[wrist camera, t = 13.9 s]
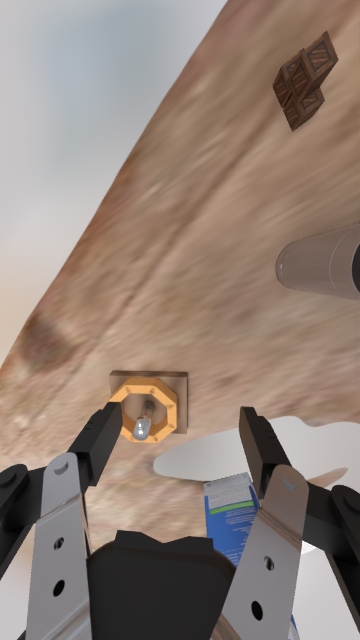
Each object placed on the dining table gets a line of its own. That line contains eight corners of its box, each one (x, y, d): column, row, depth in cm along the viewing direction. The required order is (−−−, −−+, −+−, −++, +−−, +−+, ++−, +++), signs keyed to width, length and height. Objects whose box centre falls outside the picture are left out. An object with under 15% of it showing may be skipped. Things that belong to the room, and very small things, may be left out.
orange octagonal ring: (176, 378, 41) (175, 386, 38) (177, 432, 45) (176, 443, 42) (110, 376, 42) (104, 384, 39) (117, 430, 46) (112, 440, 43)
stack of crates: (220, 99, 30) (228, 50, 23) (307, 23, 27) (346, -58, 20) (262, 186, 32) (281, 164, 26) (346, 125, 30) (391, 83, 23)
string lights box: (211, 499, 53) (230, 700, 28) (202, 481, 51) (213, 678, 26) (255, 489, 51) (318, 697, 26) (247, 470, 49) (305, 672, 24)
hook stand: (186, 372, 42) (185, 402, 33) (186, 427, 47) (185, 467, 37) (112, 370, 43) (90, 399, 34) (119, 424, 48) (101, 463, 38)
